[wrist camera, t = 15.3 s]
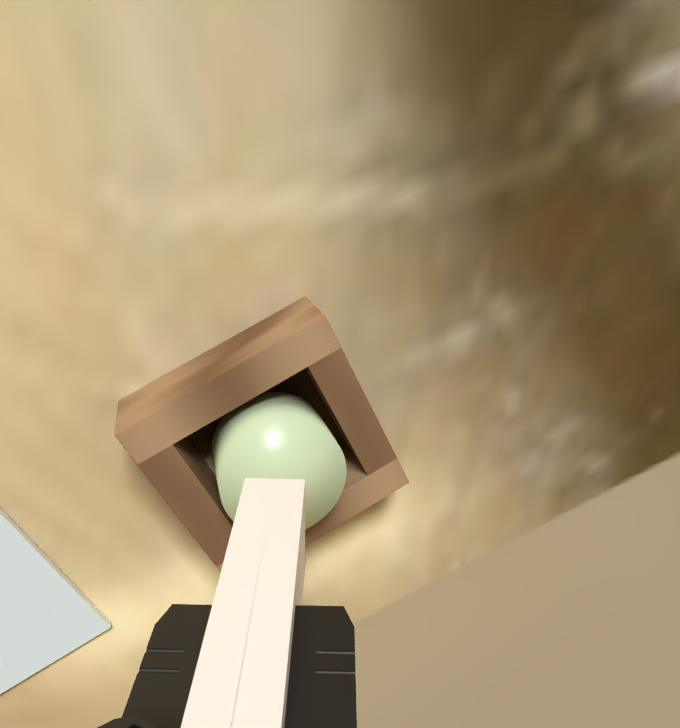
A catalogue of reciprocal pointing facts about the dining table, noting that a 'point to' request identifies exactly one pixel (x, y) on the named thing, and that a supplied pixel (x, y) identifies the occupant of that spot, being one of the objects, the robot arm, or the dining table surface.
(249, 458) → the button
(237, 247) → the dining table surface
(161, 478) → the button housing
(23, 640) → the sketch pad
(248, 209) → the dining table surface
